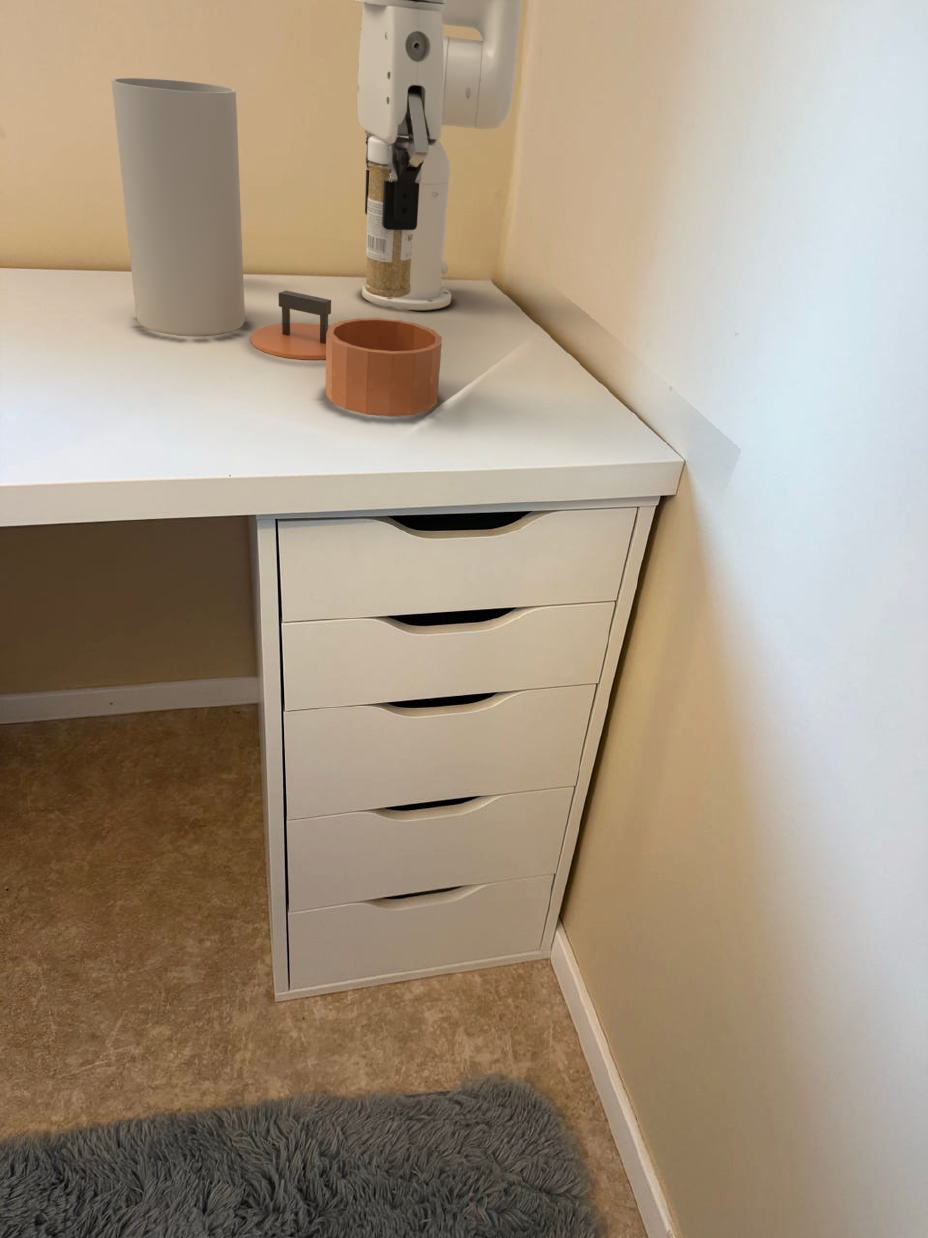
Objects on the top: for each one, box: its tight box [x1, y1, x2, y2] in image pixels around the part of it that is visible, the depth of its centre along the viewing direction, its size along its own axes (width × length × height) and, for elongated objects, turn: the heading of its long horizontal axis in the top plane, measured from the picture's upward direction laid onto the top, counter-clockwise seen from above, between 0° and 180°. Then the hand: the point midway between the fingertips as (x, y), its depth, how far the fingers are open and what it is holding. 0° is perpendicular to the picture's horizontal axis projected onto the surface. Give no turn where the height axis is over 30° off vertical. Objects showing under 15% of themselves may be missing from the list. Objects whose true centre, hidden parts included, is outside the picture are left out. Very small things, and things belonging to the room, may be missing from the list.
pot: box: [325, 317, 443, 417], centre depth 92 cm, size 11×11×7 cm
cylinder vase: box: [111, 77, 246, 337], centre depth 102 cm, size 12×12×25 cm
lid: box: [250, 290, 332, 361], centre depth 104 cm, size 12×12×6 cm
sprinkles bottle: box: [364, 136, 413, 297], centre depth 84 cm, size 5×5×13 cm
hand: (390, 220), depth 84 cm, fingers closed on sprinkles bottle, 4 cm apart
